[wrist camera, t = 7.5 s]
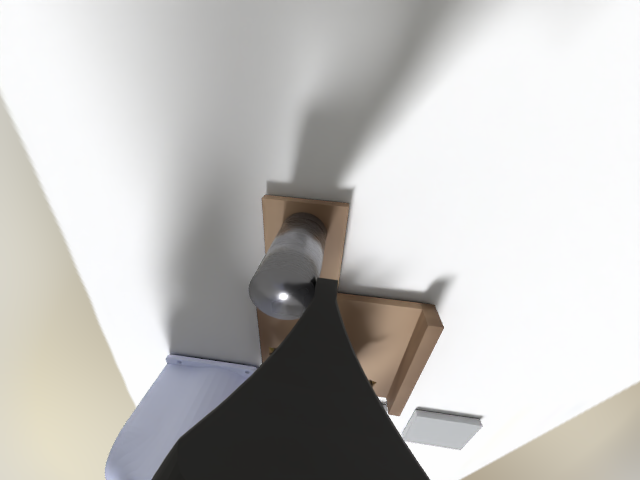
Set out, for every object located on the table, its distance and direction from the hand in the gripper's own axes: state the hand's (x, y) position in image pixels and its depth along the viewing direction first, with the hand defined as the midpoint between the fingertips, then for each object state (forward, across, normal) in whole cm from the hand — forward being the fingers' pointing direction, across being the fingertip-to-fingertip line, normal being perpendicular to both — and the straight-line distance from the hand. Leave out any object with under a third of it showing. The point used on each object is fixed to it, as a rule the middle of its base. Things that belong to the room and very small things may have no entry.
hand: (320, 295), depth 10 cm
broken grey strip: (+6, -9, +22) cm, 25 cm away
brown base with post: (+6, -1, +7) cm, 9 cm away
